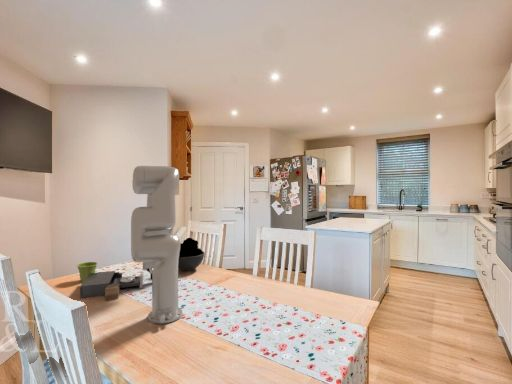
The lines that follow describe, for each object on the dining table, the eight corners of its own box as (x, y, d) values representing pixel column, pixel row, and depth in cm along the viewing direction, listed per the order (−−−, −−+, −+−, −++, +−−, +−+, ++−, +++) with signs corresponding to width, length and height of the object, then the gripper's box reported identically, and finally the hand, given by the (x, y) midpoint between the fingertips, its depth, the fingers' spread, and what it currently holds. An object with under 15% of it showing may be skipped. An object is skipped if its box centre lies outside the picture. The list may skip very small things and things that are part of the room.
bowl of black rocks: (206, 264, 176) (206, 235, 176) (202, 274, 156) (201, 241, 156) (174, 265, 175) (174, 236, 175) (166, 275, 155) (166, 242, 155)
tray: (142, 287, 135) (141, 279, 135) (111, 291, 130) (111, 283, 130) (143, 279, 148) (143, 271, 148) (115, 282, 143) (115, 274, 143)
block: (117, 298, 123) (117, 287, 123) (105, 300, 121) (105, 289, 121) (119, 294, 127) (119, 284, 127) (107, 296, 126) (107, 285, 126)
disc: (118, 284, 134) (118, 281, 134) (120, 280, 141) (120, 277, 141) (134, 283, 137) (134, 279, 137) (135, 278, 143) (135, 275, 143)
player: (117, 293, 128) (117, 282, 128) (80, 298, 123) (80, 286, 123) (122, 280, 147) (122, 270, 147) (90, 283, 142) (90, 273, 142)
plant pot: (101, 277, 151) (101, 262, 151) (89, 283, 142) (89, 267, 142) (85, 277, 152) (85, 261, 152) (72, 283, 143) (72, 266, 143)
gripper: (137, 247, 137) (137, 284, 137) (168, 245, 142) (168, 281, 142) (138, 244, 144) (138, 279, 144) (168, 242, 149) (168, 276, 149)
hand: (153, 280), depth 143 cm, fingers closed
